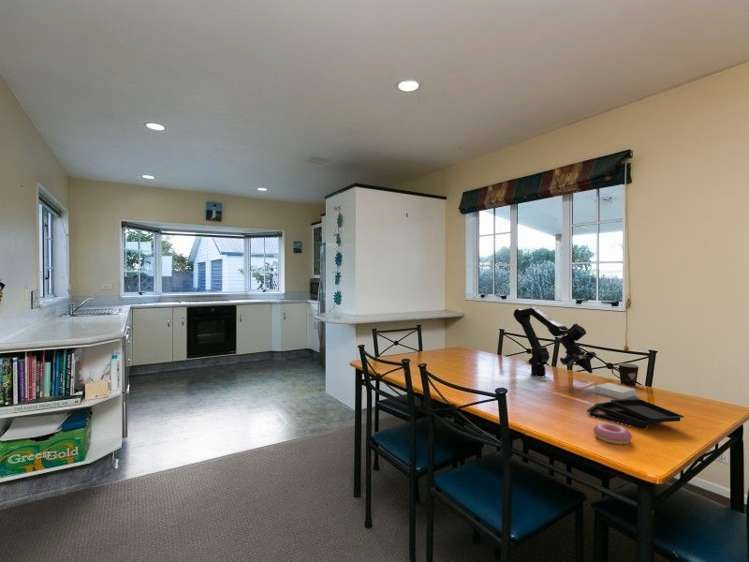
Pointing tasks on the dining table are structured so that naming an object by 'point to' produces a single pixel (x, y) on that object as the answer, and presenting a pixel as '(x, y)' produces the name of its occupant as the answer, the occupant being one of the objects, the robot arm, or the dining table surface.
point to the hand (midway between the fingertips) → (591, 373)
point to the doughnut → (612, 433)
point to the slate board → (609, 396)
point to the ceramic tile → (615, 390)
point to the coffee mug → (627, 373)
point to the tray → (634, 412)
